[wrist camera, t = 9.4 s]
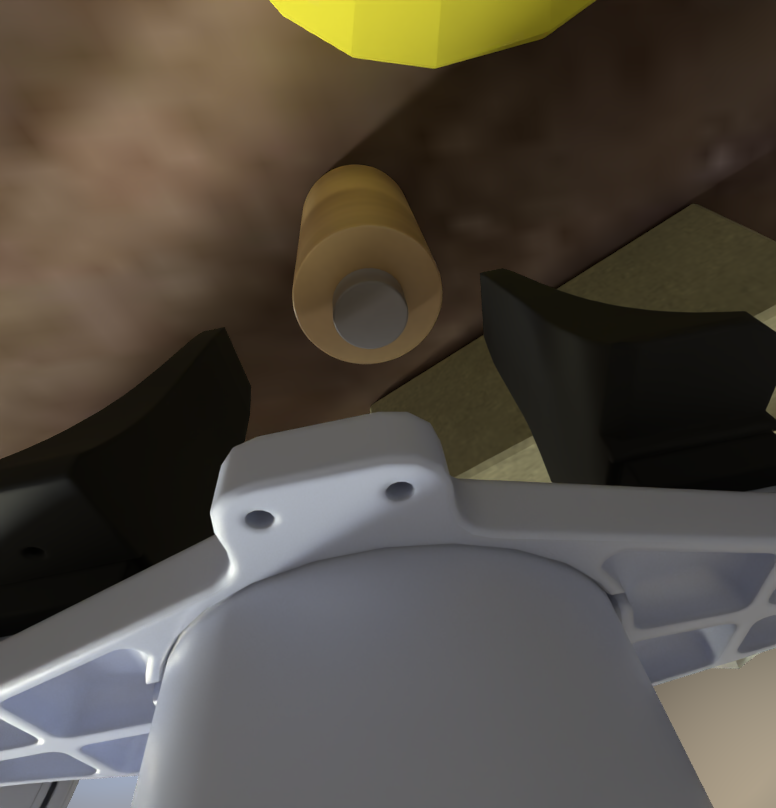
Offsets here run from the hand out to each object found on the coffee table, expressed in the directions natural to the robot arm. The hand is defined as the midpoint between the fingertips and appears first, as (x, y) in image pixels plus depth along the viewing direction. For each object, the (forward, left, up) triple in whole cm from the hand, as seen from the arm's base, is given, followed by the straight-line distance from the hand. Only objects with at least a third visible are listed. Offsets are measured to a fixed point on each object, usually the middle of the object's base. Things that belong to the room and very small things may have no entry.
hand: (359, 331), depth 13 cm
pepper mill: (0, 0, -9) cm, 9 cm away
